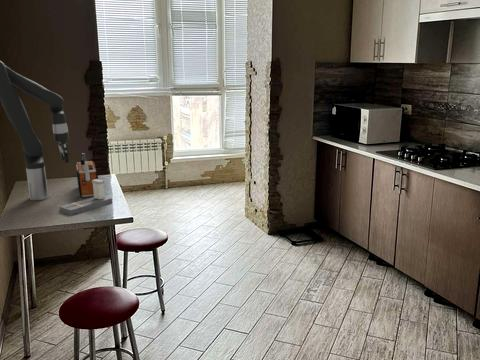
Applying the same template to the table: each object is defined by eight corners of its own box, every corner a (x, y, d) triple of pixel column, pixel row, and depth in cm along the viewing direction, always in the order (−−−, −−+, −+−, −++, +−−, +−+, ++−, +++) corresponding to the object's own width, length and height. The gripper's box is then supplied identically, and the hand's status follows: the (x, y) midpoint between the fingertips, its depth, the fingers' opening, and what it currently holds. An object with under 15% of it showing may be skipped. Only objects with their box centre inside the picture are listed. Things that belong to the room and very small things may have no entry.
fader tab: (100, 199, 234) (98, 181, 231) (93, 197, 237) (91, 180, 235) (105, 198, 236) (103, 180, 234) (98, 196, 240) (96, 179, 237)
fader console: (71, 215, 219) (70, 209, 218) (59, 211, 225) (59, 206, 224) (112, 202, 237) (111, 198, 237) (100, 199, 243) (100, 195, 243)
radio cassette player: (100, 197, 248) (96, 161, 243) (80, 199, 245) (76, 163, 240) (95, 184, 275) (92, 152, 270) (77, 186, 271) (74, 153, 266)
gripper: (51, 131, 250) (56, 160, 254) (55, 134, 238) (60, 164, 242) (65, 129, 253) (70, 158, 257) (70, 132, 241) (75, 162, 245)
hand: (65, 161), depth 250 cm, fingers open, 8 cm apart
